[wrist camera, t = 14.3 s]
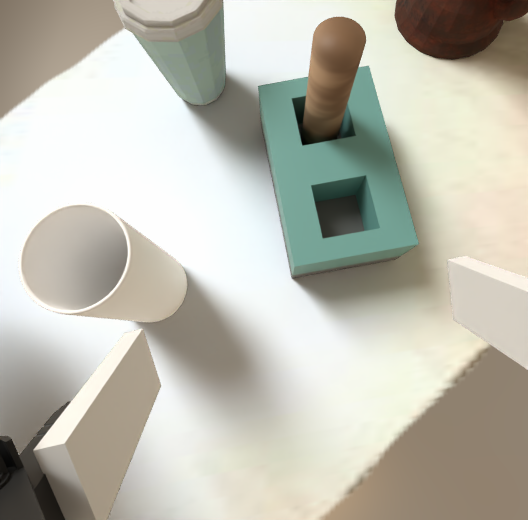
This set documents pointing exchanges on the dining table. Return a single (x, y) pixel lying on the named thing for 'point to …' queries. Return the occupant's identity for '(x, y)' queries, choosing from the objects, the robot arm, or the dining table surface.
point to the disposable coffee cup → (181, 43)
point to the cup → (98, 267)
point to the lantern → (454, 24)
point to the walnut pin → (331, 77)
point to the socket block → (335, 182)
